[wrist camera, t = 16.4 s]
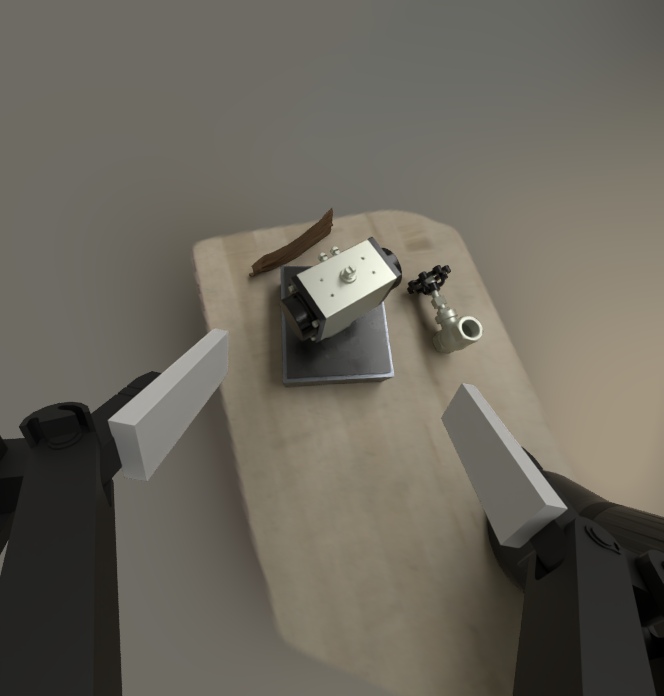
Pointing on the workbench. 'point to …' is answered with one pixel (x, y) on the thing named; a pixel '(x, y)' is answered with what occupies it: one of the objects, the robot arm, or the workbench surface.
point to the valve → (446, 313)
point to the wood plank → (295, 246)
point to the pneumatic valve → (340, 289)
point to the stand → (336, 349)
